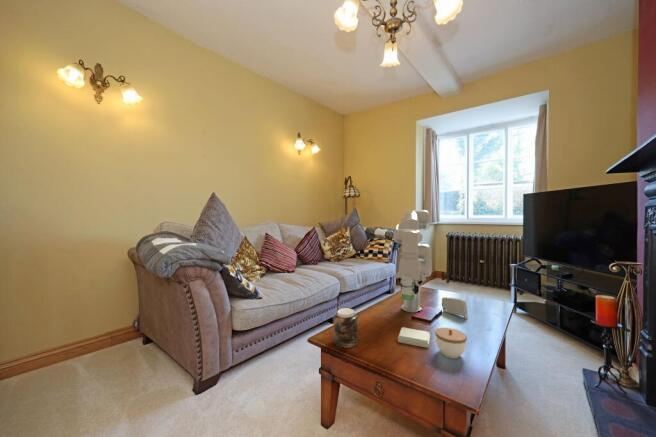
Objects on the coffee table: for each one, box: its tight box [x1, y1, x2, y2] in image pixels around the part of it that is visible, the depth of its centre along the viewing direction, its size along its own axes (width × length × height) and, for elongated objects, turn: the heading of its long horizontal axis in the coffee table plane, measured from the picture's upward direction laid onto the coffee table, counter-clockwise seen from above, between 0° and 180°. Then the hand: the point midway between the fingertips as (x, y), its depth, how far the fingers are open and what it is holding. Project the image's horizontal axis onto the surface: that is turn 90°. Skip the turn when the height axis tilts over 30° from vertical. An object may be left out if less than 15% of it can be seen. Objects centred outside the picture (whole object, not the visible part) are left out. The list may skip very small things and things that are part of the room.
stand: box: [397, 326, 431, 349], centre depth 128 cm, size 11×14×3 cm
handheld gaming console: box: [441, 296, 469, 320], centre depth 160 cm, size 11×3×15 cm
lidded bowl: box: [434, 327, 468, 359], centre depth 115 cm, size 13×13×11 cm
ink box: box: [401, 275, 417, 301], centre depth 129 cm, size 9×5×12 cm, turn 140°
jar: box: [333, 307, 359, 349], centre depth 126 cm, size 12×12×15 cm
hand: (409, 291), depth 129 cm, fingers closed on ink box, 5 cm apart
